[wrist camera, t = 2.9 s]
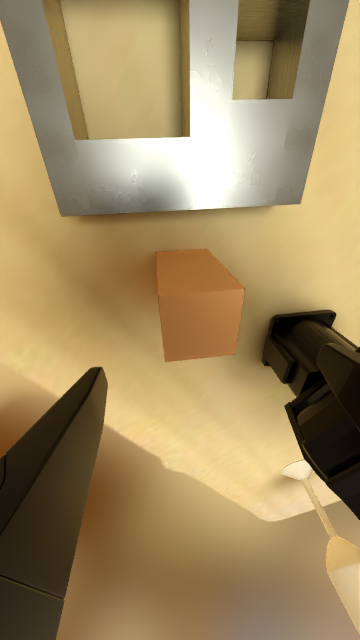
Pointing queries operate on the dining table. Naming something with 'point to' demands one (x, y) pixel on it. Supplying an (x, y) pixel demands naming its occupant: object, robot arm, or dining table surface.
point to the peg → (197, 305)
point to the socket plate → (186, 110)
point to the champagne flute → (335, 550)
